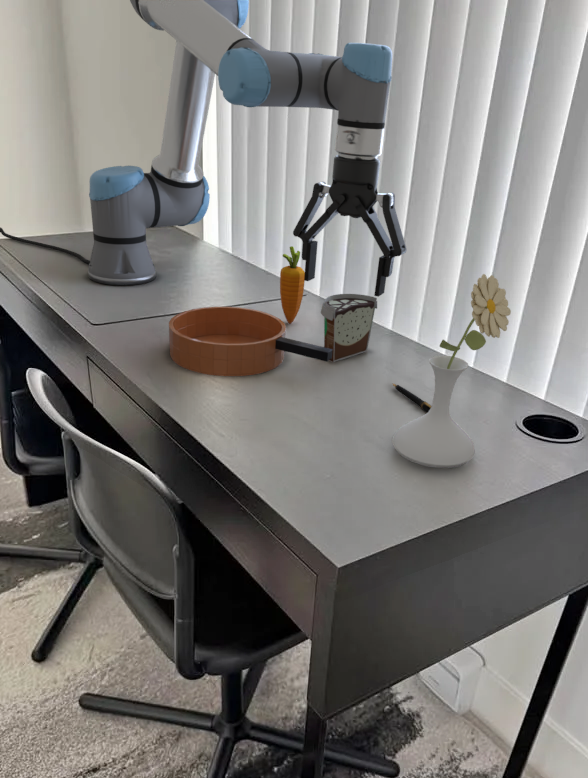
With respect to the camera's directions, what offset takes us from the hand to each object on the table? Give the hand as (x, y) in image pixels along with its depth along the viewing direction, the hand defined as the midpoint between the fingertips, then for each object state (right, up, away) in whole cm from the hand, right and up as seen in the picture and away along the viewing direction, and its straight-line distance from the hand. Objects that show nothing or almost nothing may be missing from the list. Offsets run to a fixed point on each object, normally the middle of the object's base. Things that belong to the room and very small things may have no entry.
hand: (343, 286), depth 124 cm
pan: (-21, -12, +2) cm, 24 cm away
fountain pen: (+11, -22, -11) cm, 27 cm away
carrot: (-10, -2, +19) cm, 21 cm away
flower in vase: (+11, -31, -26) cm, 42 cm away
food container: (-1, -10, +6) cm, 12 cm away
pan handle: (-7, -13, -6) cm, 16 cm away
